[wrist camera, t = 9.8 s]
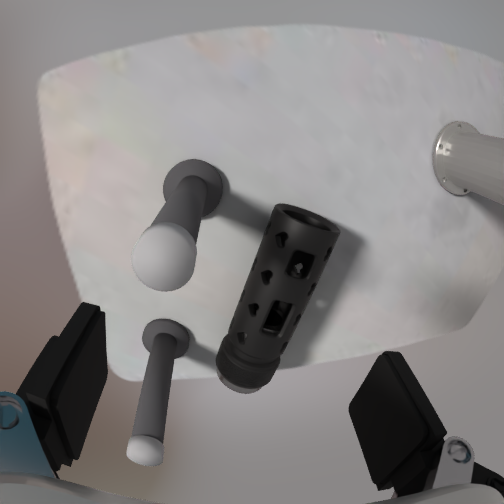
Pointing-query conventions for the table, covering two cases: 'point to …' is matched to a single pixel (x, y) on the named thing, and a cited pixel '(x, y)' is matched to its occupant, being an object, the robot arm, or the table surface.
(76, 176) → the table surface
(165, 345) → the cord post
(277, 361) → the muzzle brake
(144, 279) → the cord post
